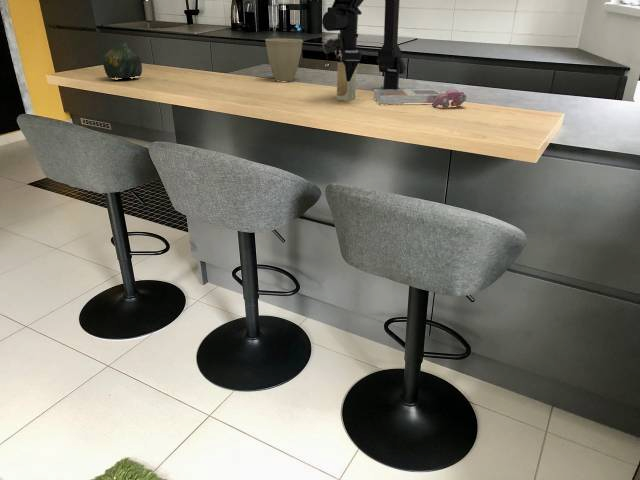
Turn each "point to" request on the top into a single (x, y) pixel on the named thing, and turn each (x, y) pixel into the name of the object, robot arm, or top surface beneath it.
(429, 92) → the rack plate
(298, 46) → the plant pot
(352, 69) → the robot arm
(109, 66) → the squash
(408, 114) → the top surface
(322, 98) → the top surface
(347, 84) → the skincare box
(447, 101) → the video game controller
